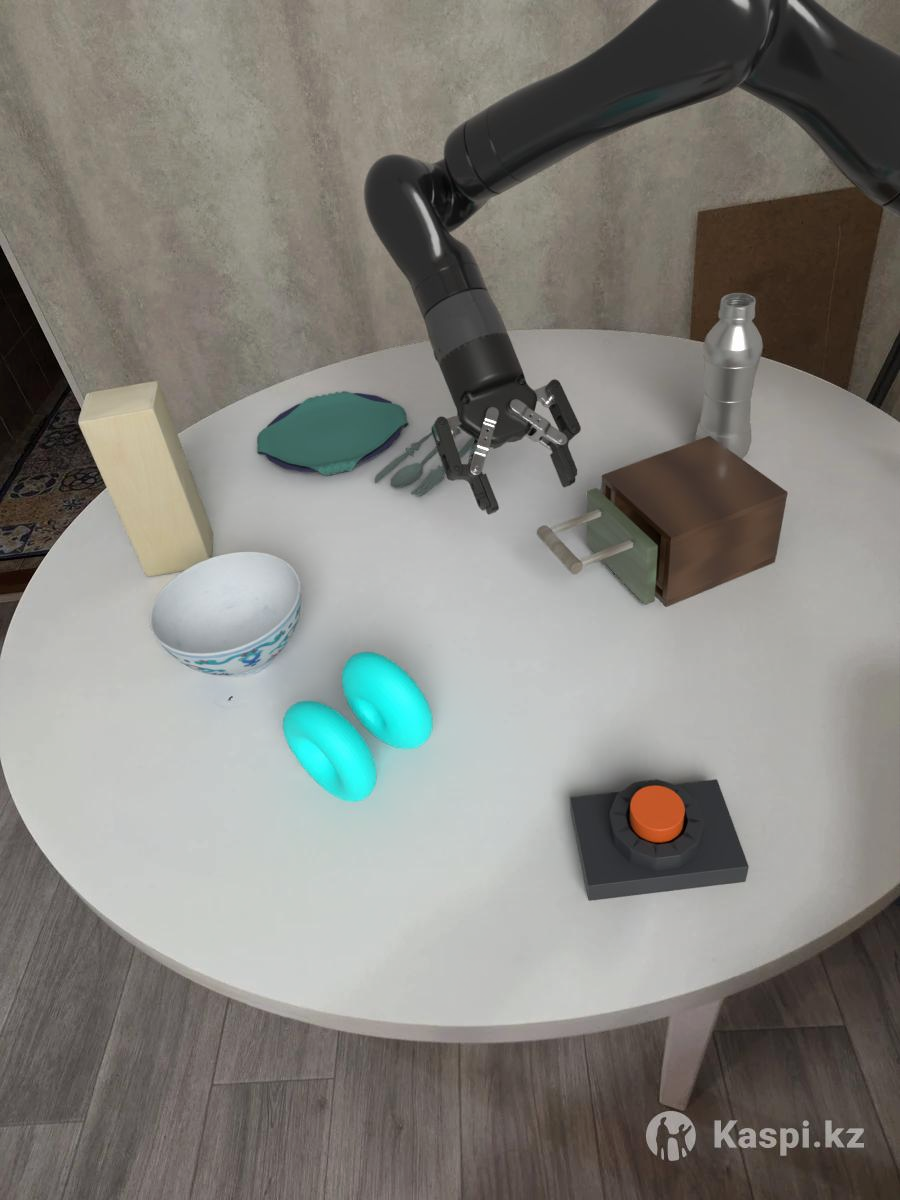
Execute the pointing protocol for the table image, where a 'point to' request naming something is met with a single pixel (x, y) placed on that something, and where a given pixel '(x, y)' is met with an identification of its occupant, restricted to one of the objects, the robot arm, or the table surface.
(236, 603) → the chinaware
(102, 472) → the tall cream wooden block
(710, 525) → the cabinet
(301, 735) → the donuts
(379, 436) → the cutlery set
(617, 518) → the drawer
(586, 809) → the control block
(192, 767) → the table surface
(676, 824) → the button
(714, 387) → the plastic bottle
